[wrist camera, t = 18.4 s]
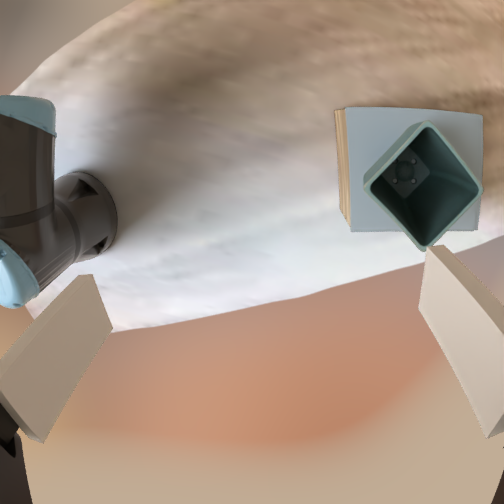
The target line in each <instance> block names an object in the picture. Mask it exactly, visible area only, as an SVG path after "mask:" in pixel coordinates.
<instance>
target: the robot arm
mask: <svg viewBox="0 0 504 504" xmlns="http://www.w3.org/2000/svg"><path fill="white" fill-rule="evenodd" d="M55 121H56V109H55V106H54V105H53V103H52V102H50V101H49V100H47V99H43V98H37V97H29V96H14V95H1V96H0V305H2V306H4V307H7V308H19V307H22V306H23V305H25V304H26V303H27V302H28V301H30V300H31V299H32V298H35V297H37V296H38V294H39V293H40V292H41V291H42V290H44V289H45V288H46V287H47V286H48V285H49V284H50V283H51V282H52V281H53V280H54V279H56V278H57V277H58V276H59V275H60V274H61V273H62V272H63V271H65V270H66V269H67V268H68V267H69V266H70V265H71V264H73V263H77V262H81V261H85V260H90V259H93V258H95V257H97V256H99V255H100V254H101V253H102V252H104V251H105V250H106V249H107V248H108V247H109V246H110V245H111V243H112V241H113V239H114V237H115V234H116V229H117V214H116V209H115V205H114V202H113V200H112V198H111V196H110V194H109V192H108V191H107V189H106V188H105V187H104V185H103V184H102V183H101V182H100V181H99V180H97V179H96V178H95V177H93V176H91V175H89V174H86V173H82V172H73V173H69V174H67V175H64V176H62V177H60V178H58V179H56V180H55V181H54V159H55V138H56V137H57V133H56V132H55ZM418 309H419V311H420V312H421V314H422V316H423V317H424V319H425V320H426V322H427V324H428V326H429V327H430V329H431V330H432V333H433V334H434V336H435V338H436V339H437V341H438V343H439V345H440V347H441V348H442V350H443V352H444V354H445V356H446V357H447V359H448V361H449V363H450V365H451V367H452V368H453V371H454V373H455V374H456V376H457V378H458V380H459V382H460V384H461V386H462V388H463V390H464V392H465V394H466V396H467V398H468V400H469V402H470V404H471V407H472V408H473V411H474V413H475V415H476V417H477V419H478V422H479V424H480V426H481V428H482V430H483V433H484V435H485V438H486V439H487V438H490V437H492V436H495V435H497V434H499V433H502V432H504V306H503V305H502V304H501V303H500V301H499V300H498V299H497V298H496V297H495V296H494V295H493V294H492V293H491V292H490V291H489V290H488V289H487V287H486V286H485V285H484V284H483V283H482V282H481V281H480V280H479V279H478V278H477V277H476V276H475V275H474V274H473V273H472V272H471V271H470V270H469V269H468V268H467V267H466V266H465V265H464V264H463V263H462V262H461V261H460V260H459V259H458V258H457V257H456V256H455V255H454V254H453V253H452V252H451V251H450V250H448V249H447V248H446V247H445V246H444V245H438V246H428V247H427V249H426V258H425V267H424V275H423V282H422V289H421V295H420V302H419V307H418ZM112 329H113V327H112V324H111V322H110V319H109V317H108V315H107V312H106V309H105V307H104V304H103V302H102V299H101V296H100V294H99V291H98V288H97V286H96V283H95V280H94V277H93V274H88V275H78V276H77V277H76V278H75V279H74V280H73V281H72V282H71V283H70V284H69V285H68V286H67V287H66V288H65V289H64V290H63V291H62V292H61V293H60V294H59V295H58V296H57V297H56V298H55V299H54V300H53V301H52V302H51V303H50V305H49V306H48V307H47V308H46V309H45V310H44V311H43V312H42V313H41V314H40V315H39V316H38V317H37V318H36V319H35V320H34V322H33V323H32V324H31V325H30V326H29V327H28V328H27V329H26V330H25V332H23V334H22V335H21V336H20V337H19V338H18V339H17V340H16V341H15V343H14V344H13V345H12V346H11V347H10V348H9V350H8V351H7V352H6V353H5V354H4V356H3V357H2V358H1V359H0V504H33V503H32V499H31V495H30V490H29V485H28V481H27V475H26V469H25V463H24V457H23V450H22V442H21V438H20V436H19V435H18V434H17V432H16V431H17V430H18V428H19V427H20V428H21V430H22V431H23V432H24V433H25V434H26V435H27V436H28V438H30V439H33V440H35V441H38V442H41V443H44V441H45V440H46V438H47V436H48V434H49V433H50V430H51V429H52V427H53V425H54V423H55V422H56V420H57V418H58V417H59V415H60V413H61V411H62V410H63V408H64V406H65V404H66V403H67V401H68V399H69V398H70V396H71V394H72V393H73V391H74V389H75V388H76V386H77V384H78V383H79V381H80V379H81V378H82V376H83V374H84V373H85V371H86V369H87V368H88V366H89V365H90V363H91V362H92V360H93V358H94V357H95V355H96V354H97V352H98V350H99V349H100V347H101V346H102V344H103V343H104V341H105V340H106V338H107V337H108V335H109V334H110V332H111V331H112ZM503 448H504V447H503ZM491 504H504V471H503V474H502V477H501V479H500V483H499V485H498V488H497V490H496V493H495V496H494V498H493V501H492V503H491Z"/></svg>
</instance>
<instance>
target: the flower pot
mask: <svg viewBox="0 0 504 504" xmlns="http://www.w3.org/2000/svg"><path fill="white" fill-rule="evenodd" d="M395 159H397V162H396V163H393V161H394V160H395ZM412 159H415V163H414V164H413V163H412V162H411V161H412ZM393 179H397V182H396V183H394V182H393ZM412 179H415V183H412V182H411V181H412ZM363 190H364V192H365V193H366V194H367V195H368V196H369V197H370V198H371V199H372V200H373V201H374V202H375V203H376V204H377V205H378V206H379V207H380V208H381V209H383V211H385V213H387V215H388V216H389V217H390V218H391V219H392V220H393V221H394V222H395V223H396V224H397V225H398V226H399V227H400V228H401V229H402V230H403V232H404V233H405V234H406V235H407V236H408V237H409V238H410V239H411V241H412V242H413V243H414V244H415V245H416V247H417V248H418V249H419V250H420V251H422V252H425V251H426V249H427V247H428V246H433V245H434V243H436V242H437V241H438V240H439V239H440V238H441V237H442V236H443V234H444V233H445V232H447V231H448V229H449V228H450V227H451V226H452V225H453V224H454V223H455V222H456V221H457V220H458V219H459V218H460V217H461V216H462V215H463V214H464V213H465V212H466V211H467V210H468V209H469V208H470V207H471V206H472V205H473V204H474V203H475V202H476V201H477V200H478V199H479V198H480V197H481V195H482V193H483V191H484V188H483V186H482V185H481V183H480V182H479V180H478V179H477V178H476V176H475V175H474V174H473V172H472V171H471V170H470V168H469V167H468V166H467V164H466V163H465V162H464V160H463V159H462V158H461V156H460V155H459V154H458V153H457V151H456V150H455V149H454V148H453V146H452V145H451V144H450V143H449V141H448V140H447V139H446V138H445V137H444V135H443V134H442V133H441V132H440V130H439V129H438V128H437V127H436V126H435V125H434V124H433V123H432V122H431V121H430V120H425V121H422V122H419V123H416V124H413V125H411V126H410V127H408V128H407V129H406V130H405V131H404V133H403V134H402V135H401V136H400V137H399V138H398V139H397V140H396V141H395V142H394V143H393V144H392V145H391V147H390V148H389V149H388V150H387V151H386V152H385V153H384V154H383V155H382V156H381V157H380V158H379V159H378V160H377V161H376V162H375V163H374V164H373V165H372V166H371V167H370V169H369V170H368V171H367V172H366V173H365V174H364V177H363Z"/></svg>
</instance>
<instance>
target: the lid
mask: <svg viewBox="0 0 504 504" xmlns="http://www.w3.org/2000/svg"><path fill="white" fill-rule="evenodd" d="M345 113H346V125H347V139H348V156H349V178H350V230H351V232H379V231H403V230H402V229H401V228H400V227H399V226H398V225H397V224H396V223H395V222H394V221H393V220H392V219H391V218H390V217H389V216H388V215H387V213H385V211H383V209H381V208H380V207H379V206H378V205H377V204H376V203H375V202H374V201H373V200H372V199H371V198H370V197H369V196H368V195H367V194H366V193H365V192H364V190H363V177H364V174H365V173H366V172H367V171H368V170H369V169H370V167H371V166H372V165H373V164H374V163H375V162H376V161H377V160H378V159H379V158H380V157H381V156H382V155H383V154H384V153H385V152H386V151H387V150H388V149H389V148H390V147H391V145H392V144H393V143H394V142H395V141H396V140H397V139H398V138H399V137H400V136H401V135H402V134H403V133H404V131H405V130H406V129H407V128H408V127H410V126H411V125H413V124H416V123H419V122H422V121H425V120H430V121H431V122H432V123H433V124H434V125H435V126H436V127H437V128H438V129H439V130H440V132H441V133H442V134H443V135H444V137H445V138H446V139H447V140H448V141H449V143H450V144H451V145H452V146H453V148H454V149H455V150H456V151H457V153H458V154H459V155H460V156H461V158H462V159H463V160H464V162H465V163H466V164H467V166H468V167H469V168H470V170H471V171H472V172H473V174H474V175H475V176H476V178H477V179H478V180H479V182H480V183H481V185H482V173H483V116H482V115H478V114H471V113H462V112H453V111H443V110H431V109H416V108H394V107H345ZM396 162H397V159H395V160H394V161H393V163H396ZM411 162H412V163H413V164H414V163H415V159H412V161H411ZM393 182H394V183H396V182H397V179H393ZM411 182H412V183H415V179H412V181H411ZM480 203H481V197H480V198H479V199H478V200H477V201H476V202H475V203H474V204H473V205H472V206H471V207H470V208H469V209H468V210H467V211H466V212H465V213H464V214H463V215H462V216H461V217H460V218H459V219H458V220H457V221H456V222H455V223H454V224H453V225H452V226H451V227H450V228H449V229H448V231H474V230H478V222H479V213H480Z"/></svg>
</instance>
